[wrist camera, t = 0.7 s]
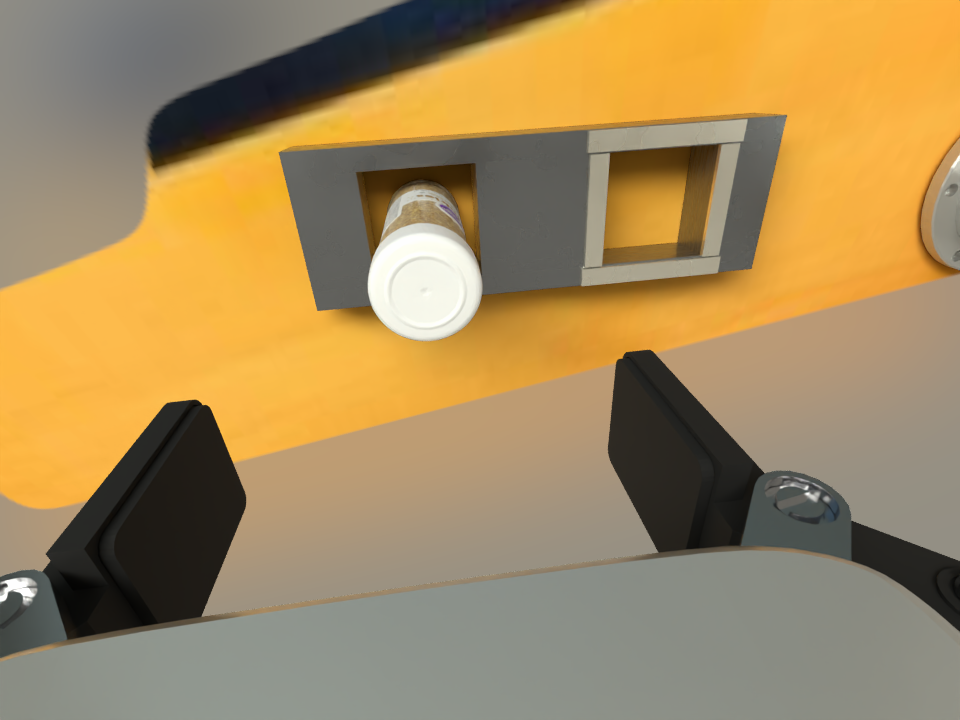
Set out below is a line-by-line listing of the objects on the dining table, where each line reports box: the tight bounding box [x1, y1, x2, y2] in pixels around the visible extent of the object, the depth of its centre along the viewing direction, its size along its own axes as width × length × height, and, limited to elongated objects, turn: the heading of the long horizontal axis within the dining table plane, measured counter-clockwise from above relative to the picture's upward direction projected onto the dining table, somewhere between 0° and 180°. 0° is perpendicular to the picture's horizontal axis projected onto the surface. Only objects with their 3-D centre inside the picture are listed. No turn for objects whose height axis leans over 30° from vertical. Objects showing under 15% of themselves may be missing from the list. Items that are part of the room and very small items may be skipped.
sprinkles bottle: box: [368, 179, 482, 341], centre depth 24 cm, size 5×5×14 cm
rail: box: [279, 113, 787, 311], centre depth 29 cm, size 28×9×3 cm, turn 93°
